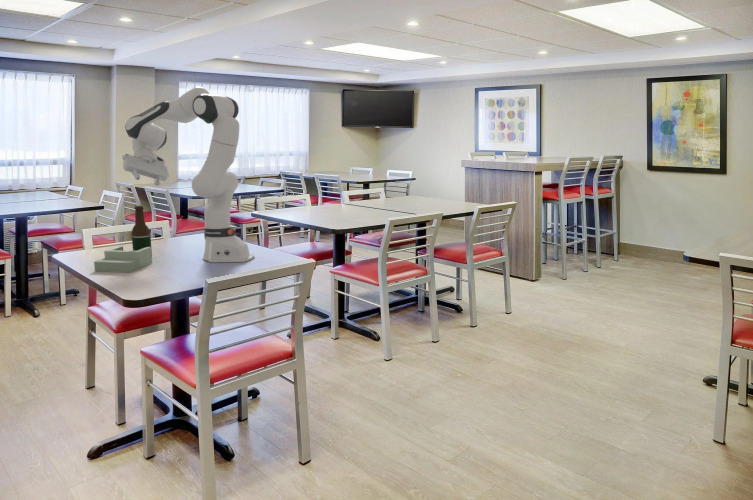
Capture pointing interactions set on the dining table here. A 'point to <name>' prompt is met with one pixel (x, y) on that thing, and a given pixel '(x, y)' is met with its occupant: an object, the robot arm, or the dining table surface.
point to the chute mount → (123, 260)
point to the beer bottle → (140, 231)
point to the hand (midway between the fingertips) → (147, 181)
